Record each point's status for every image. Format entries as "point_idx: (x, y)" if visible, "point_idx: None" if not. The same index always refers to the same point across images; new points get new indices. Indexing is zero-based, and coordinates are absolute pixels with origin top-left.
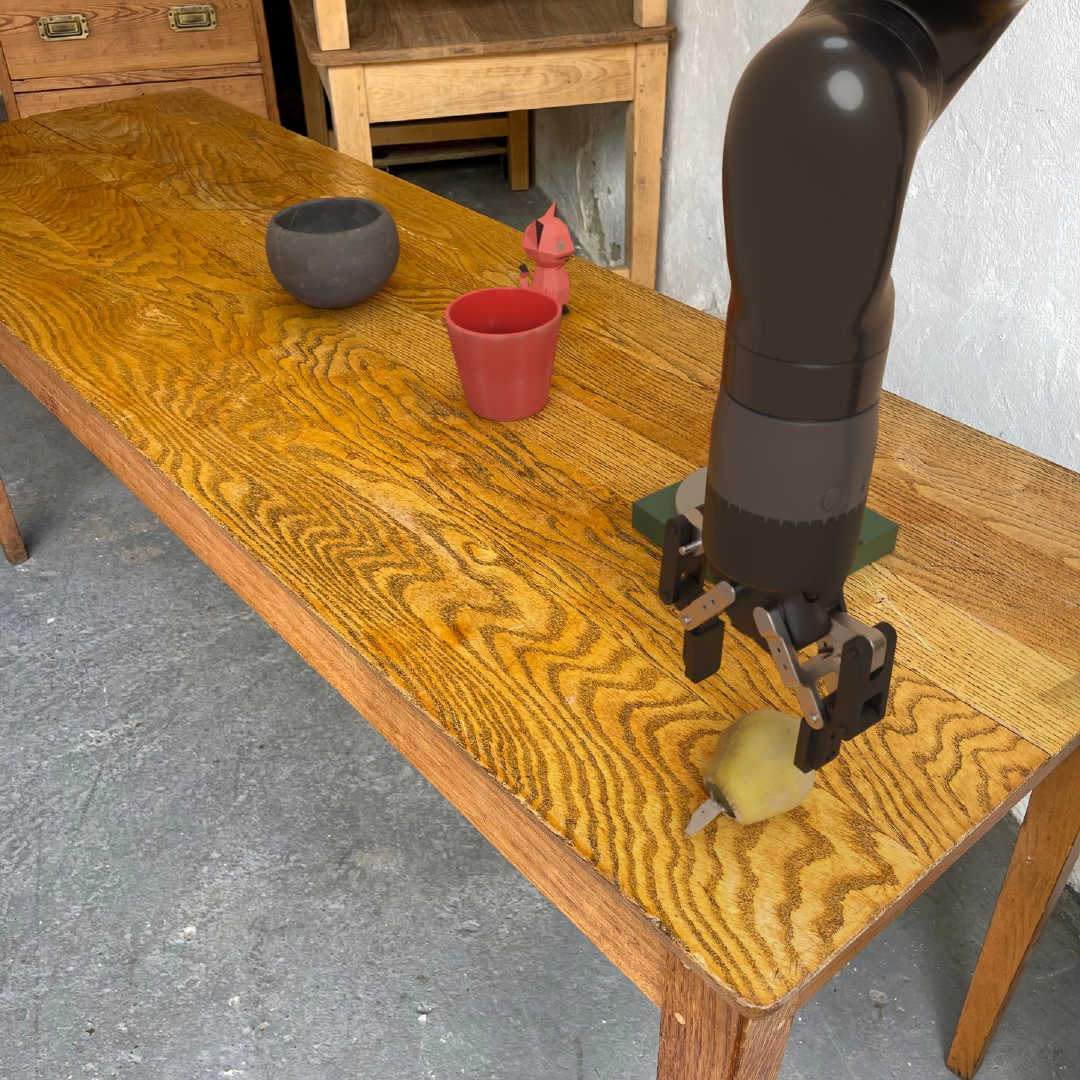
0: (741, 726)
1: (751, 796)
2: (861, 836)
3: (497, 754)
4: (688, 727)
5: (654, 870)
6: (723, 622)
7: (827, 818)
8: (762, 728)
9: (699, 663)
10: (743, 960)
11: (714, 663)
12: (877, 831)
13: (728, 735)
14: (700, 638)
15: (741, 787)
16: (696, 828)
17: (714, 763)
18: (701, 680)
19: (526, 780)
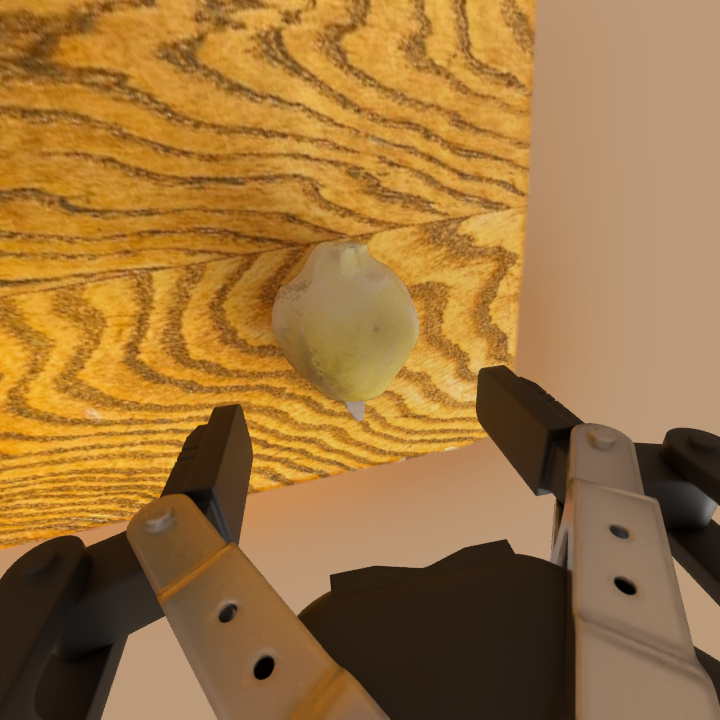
0: (324, 375)
1: (391, 381)
2: (453, 245)
3: None
4: (200, 316)
5: (362, 441)
6: (212, 490)
7: (412, 261)
8: (355, 365)
9: (244, 474)
10: (473, 424)
11: (239, 429)
12: (461, 222)
13: (317, 382)
14: (235, 534)
15: (380, 391)
16: (363, 413)
17: (327, 393)
18: (248, 436)
19: None
